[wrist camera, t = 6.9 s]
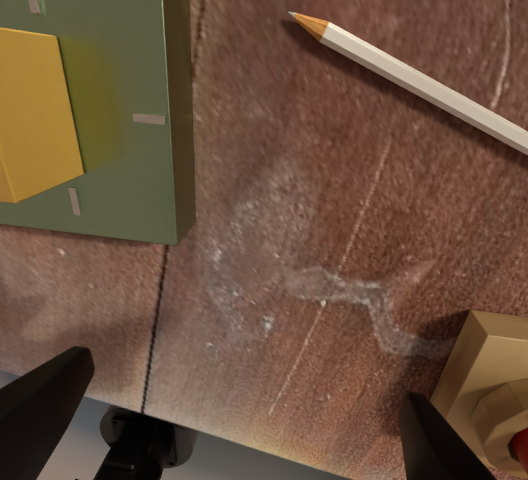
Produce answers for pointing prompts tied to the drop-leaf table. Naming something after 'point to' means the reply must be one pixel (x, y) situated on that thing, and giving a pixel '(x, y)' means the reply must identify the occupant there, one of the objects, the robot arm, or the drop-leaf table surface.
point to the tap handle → (34, 117)
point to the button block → (488, 387)
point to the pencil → (414, 81)
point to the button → (521, 447)
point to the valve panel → (118, 118)
